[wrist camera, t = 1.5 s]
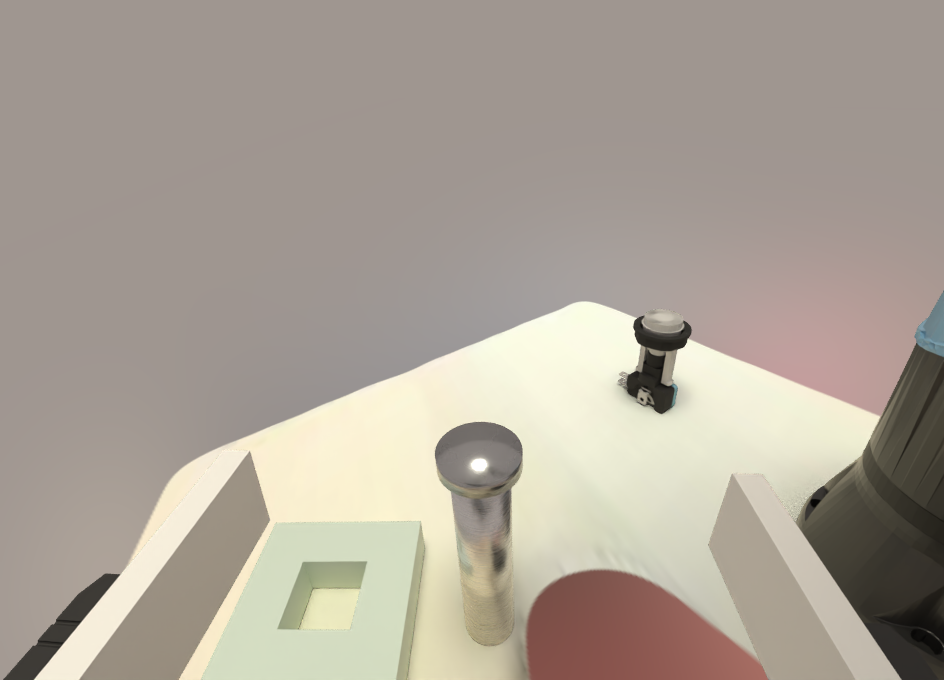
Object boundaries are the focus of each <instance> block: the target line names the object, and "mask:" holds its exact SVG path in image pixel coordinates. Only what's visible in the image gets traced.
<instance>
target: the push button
mask: <svg viewBox="0 0 944 680" xmlns="http://www.w3.org/2000/svg"><path fill="white" fill-rule="evenodd" d="M633 328H634V330H635V337H636V340H637V342H638V343H639V344H640V345H641V349H640V356H639V363H638V366H636V371H635V372H633V373H631V374H630V375H629V374H627V373H625V372H621V373H619V375H620V376H622V377H624V378H626V380H625V379H623V378H621V379H620V380H618V382H620V383H622V384H624V385H625V386H626V387H628V393H629V394H630V395H632V396H634V397H636V398H637V401H638V402H639V403H641V404H643V405H646V403H647V404H649V405H650V406H652V407H654V409H655V410H656V411H657V412H659V413H663V412H665V411H666V410H668V409H669V408H671V407H672V406H673V405H674V404H675V399H676V394H677V389H678V388H677V386H676V385H675V384H673V380H672V375H673V370H674V364H675V359H676V354H677V349H680V348H683V347H684V346H685V345H686V343H687V339H688V338H689V336H690V335H691V326H690V325H689V324H688V323H687V322H685V321H683V317H682V316H681V315H680V314H678V313H676V312H673V311H669V310H661V309H655V310H650V311H648V312H646V314H645V315H644V316H641V317H639V318H637V319H636V320H635V321H634V326H633ZM623 374H626V376H624V375H623ZM622 381H625V382H622Z"/></svg>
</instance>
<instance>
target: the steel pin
mask: <svg viewBox="0 0 944 680" xmlns="http://www.w3.org/2000/svg"><path fill="white" fill-rule="evenodd" d="M435 459H436V466H437V474H438V477H439V479H440V481H441V483H442V484H443V485H444V486H445V487H446V488H447V489H448V490H450V491H451V495H452V504H453V513H454V522H455V531H456V540H457V549H458V558H459V567H460V576H461V585H462V594H463V603H464V613H465V622H466V628H467V631H468V633H469V635H470V636H471V637H472V639H474V640H475V641H476V642H477V643H479V644H482V645H485V646H494V645H498V644H500V643H502V642H504V641H505V640H506V639H507V638H508V637H509V636H510V634H511V632H512V630H513V626H514V602H513V551H512V501H511V487H512V486H514V485H515V483H516V482H517V481H518V479H519V478H520V476H521V473H522V468H523V458H522V445H521V442H520V440H519V439H518V437H517V436H516V435H515V434H514V433H513V432H512V431H510V430H509V429H507V428H505V427H503V426H501V425H498V424H494V423H489V422H473V423H467V424H463V425H460V426H458V427H456V428H454V429H452V430H450V431H449V432H447V433H446V434H445V435H444V436H443V437H442V438H441V439H440V441H439V442H438V444H437V446H436V450H435Z"/></svg>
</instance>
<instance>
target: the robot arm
mask: <svg viewBox="0 0 944 680" xmlns="http://www.w3.org/2000/svg"><path fill="white" fill-rule="evenodd" d="M915 338H916V341H917V343H916V346H915V348H914V350H913V352H912V354H911V356H910V358H909V360H908V362H907V364H906V366H905V368H904V371H903V373H902V375H901V377H900V379H899V381H898V383H897V385H896V387H895V389H894V391H893V393H892V395H891V397H890V399H889V401H888V403H887V406H886V407H885V409H884V411H883V413H882V415H881V417H880V419H879V421H878V423H877V425H876V427H875V429H874V431H873V433H872V435H871V438H870V440H869V442H868V444H867V446H866V448H865V450H864V452H863V454H862V456H861V457H859V458H858V459H857V460H855V461H854V462H853V463H852V464H850V465H849V466H848V467H846V468H845V469H844V470H843V471H841V472H840V473H839V474H837V475H836V476H835V477H833V478H832V479H831V480H830V481H829V482H827V483H826V484H825V485H824V486H823V487H821V488H819V489H818V490H817V491H816V492H814V493H813V494H812V495H811V496H810V497H809V499H808V500H807V501H806V503H805V504H804V506H803V508H802V510H801V512H800V514H799V517H798V519H797V521H796V523H795V521H794V520H793V519H792V517H791V516H790V514H789V513H788V511H787V510H786V508H785V507H784V505H783V504H782V502H781V501H780V499H779V498H778V496H777V495H776V493H775V492H774V490H773V489H772V487H771V486H770V484H769V483H768V482H767V480H766V479H765V477H764V476H763V474H743V473H732V475H731V478H730V481H729V484H728V487H727V490H726V493H725V496H724V499H723V502H722V505H721V508H720V511H719V514H718V517H717V520H716V523H715V526H714V529H713V532H712V535H711V538H710V541H709V544H708V545H709V548H710V550H711V552H712V554H713V557H714V559H715V561H716V563H717V566H718V568H719V570H720V572H721V575H722V577H723V579H724V581H725V584H726V586H727V588H728V590H729V593H730V595H731V597H732V599H733V601H734V604H735V606H736V608H737V610H738V613H739V615H740V617H741V619H742V622H743V624H744V626H745V628H746V631H747V633H748V635H749V637H750V640H751V642H752V644H753V646H754V649H755V651H756V653H757V655H758V658H759V660H760V662H761V664H762V667H763V669H764V671H765V673H766V675H767V678H768V680H944V291H943V293H942V294H941V296H940V298H939V300H938V302H937V303H936V305H935V307H934V308H933V310H932V312H931V314H930V316H929V317H928V318H927V319H926V320H925V321H923V322H922V323H921V324H920V325H919V326H918V328H917V331H916V334H915ZM269 521H270V518H269V515H268V511H267V508H266V505H265V501H264V498H263V494H262V491H261V487H260V484H259V481H258V477H257V474H256V470H255V467H254V463H253V460H252V457H251V453H250V451H245V450H223V451H222V452H221V453H220V455H219V456H218V457H217V458H216V459H215V461H214V462H213V463H212V464H211V466H210V467H209V468H208V469H207V470H206V472H205V473H204V474H203V475H202V476H201V478H200V479H199V480H198V481H197V483H196V484H195V485H194V486H193V487H192V489H191V490H190V491H189V492H188V493H187V495H186V496H185V497H184V498H183V499H182V501H181V502H180V503H179V504H178V506H177V507H176V508H175V509H174V510H173V512H172V513H171V514H170V515H169V516H168V518H167V519H166V520H165V521H164V523H163V524H162V525H161V526H160V527H159V529H158V530H157V531H156V532H155V533H154V535H153V536H152V537H151V538H150V540H149V541H148V542H147V543H146V544H145V546H144V547H143V548H142V549H141V550H140V552H139V553H138V554H137V555H136V557H135V558H134V559H133V560H132V561H131V563H130V564H129V565H128V566H127V567H126V569H125V570H124V571H123V572H122V574H121V575H120V574H104V575H103V576H102V577H101V578H99V579H98V580H96V581H95V582H94V583H92V584H91V585H90V586H89V587H87V588H86V589H85V590H83V591H82V592H81V593H79V594H78V595H77V596H76V597H75V599H74V600H73V601H72V602H71V603H70V604H69V606H68V607H67V608H66V609H65V610H64V611H63V612H62V614H61V615H60V616H59V617H58V618H57V619H56V623H55V624H54V625H51V626H50V627H49V628H48V629H47V631H46V632H45V633H44V634H43V635H42V636H41V637H40V638H39V640H38V643H37V645H36V646H32V648H31V649H30V650H29V651H28V652H27V653H26V654H25V656H24V657H23V658H22V659H21V660H20V661H19V662H18V664H17V665H16V666H15V667H14V668H13V669H12V670H11V672H10V673H9V674H8V675H7V676H6V677H5V678H4V679H3V680H179V678H180V676H181V674H182V673H183V671H184V669H185V667H186V666H187V664H188V662H189V660H190V659H191V657H192V655H193V653H194V652H195V650H196V648H197V646H198V645H199V643H200V641H201V640H202V638H203V636H204V634H205V633H206V631H207V629H208V627H209V626H210V624H211V622H212V620H213V619H214V617H215V615H216V613H217V612H218V610H219V608H220V606H221V605H222V603H223V601H224V599H225V598H226V596H227V594H228V593H229V591H230V589H231V587H232V586H233V584H234V582H235V580H236V579H237V577H238V575H239V573H240V572H241V570H242V568H243V566H244V565H245V563H246V561H247V559H248V558H249V556H250V554H251V552H252V551H253V549H254V547H255V545H256V544H257V542H258V540H259V539H260V537H261V535H262V533H263V532H264V530H265V528H266V526H267V525H268V523H269Z"/></svg>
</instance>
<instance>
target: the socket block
mask: <svg viewBox="0 0 944 680" xmlns="http://www.w3.org/2000/svg"><path fill="white" fill-rule="evenodd" d="M424 550H425V545H424V539H423V533H422V526H421V521H389V522H296V523H276V524H275V526H274V528H273V530H272V532H271V534H270V536H269V538H268V540H267V543H266V545H265V547H264V549H263V551H262V553H261V555H260V557H259V559H258V561H257V563H256V565H255V568H254V570H253V572H252V574H251V576H250V578H249V580H248V582H247V584H246V586H245V588H244V590H243V593H242V595H241V597H240V599H239V601H238V603H237V605H236V607H235V609H234V611H233V613H232V616H231V618H230V620H229V622H228V624H227V626H226V628H225V630H224V632H223V634H222V636H221V638H220V641H219V643H218V645H217V647H216V649H215V651H214V653H213V655H212V657H211V659H210V661H209V663H208V666H207V668H206V670H205V672H204V674H203V676H202V678H201V680H407V675H408V667H409V660H410V653H411V645H412V638H413V631H414V623H415V616H416V609H417V602H418V594H419V587H420V580H421V572H422V565H423V558H424ZM313 588H361V589H360V592H359V596H358V600H357V604H356V608H355V612H354V616H353V620H352V624H351V628H350V630H298V629H299V627H300V624H301V621H302V618H303V615H304V612H305V609H306V606H307V603H308V601H309V598H310V595H311V592H312V589H313Z"/></svg>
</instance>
